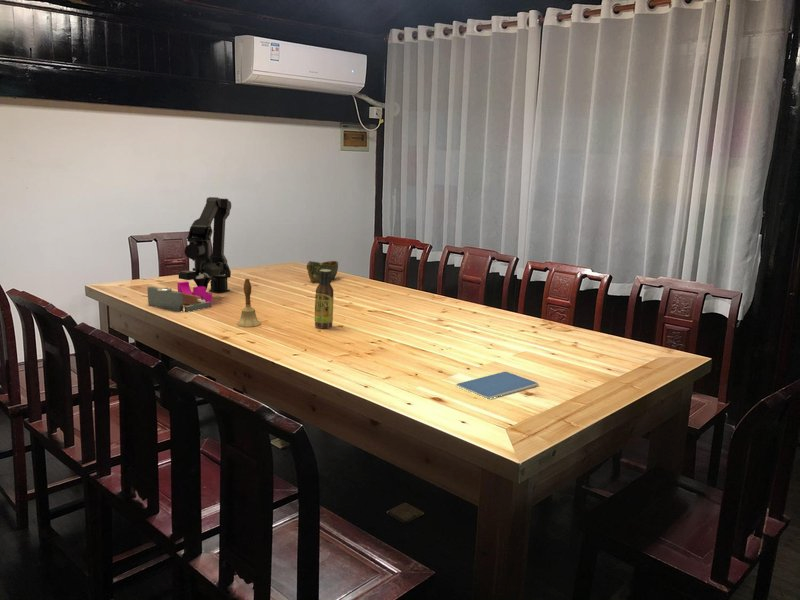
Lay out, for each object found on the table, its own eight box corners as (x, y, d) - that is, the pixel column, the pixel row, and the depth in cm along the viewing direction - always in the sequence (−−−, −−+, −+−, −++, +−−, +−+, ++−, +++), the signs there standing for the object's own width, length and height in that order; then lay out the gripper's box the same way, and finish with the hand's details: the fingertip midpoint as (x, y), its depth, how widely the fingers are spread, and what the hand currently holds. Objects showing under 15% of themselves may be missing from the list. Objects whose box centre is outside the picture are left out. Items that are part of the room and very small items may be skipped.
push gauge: (174, 298, 260) (173, 280, 259) (211, 307, 248) (210, 287, 247) (141, 305, 248) (140, 285, 247) (178, 313, 236) (177, 293, 235)
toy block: (212, 305, 253) (211, 286, 251) (197, 307, 248) (196, 288, 247) (192, 298, 263) (191, 280, 261) (178, 300, 258) (177, 282, 257)
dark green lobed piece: (296, 279, 309) (296, 258, 307) (334, 277, 320) (334, 256, 318) (308, 284, 299) (308, 262, 297) (346, 281, 310) (347, 260, 307)
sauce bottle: (311, 327, 223) (311, 270, 218) (320, 323, 228) (320, 267, 224) (327, 330, 220) (328, 272, 216) (336, 326, 226) (336, 269, 222)
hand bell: (236, 327, 220) (235, 281, 217) (236, 321, 228) (235, 277, 224) (261, 326, 222) (261, 280, 219) (260, 321, 230) (259, 276, 227)
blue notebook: (487, 402, 160) (488, 397, 159) (453, 387, 169) (453, 383, 169) (540, 387, 171) (540, 383, 171) (505, 374, 181) (505, 370, 181)
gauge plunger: (172, 299, 256) (171, 288, 256) (205, 306, 246) (205, 295, 245) (168, 299, 255) (168, 289, 254) (202, 307, 244) (202, 296, 243)
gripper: (195, 260, 243) (197, 301, 246) (234, 255, 258) (235, 293, 261) (176, 257, 249) (178, 297, 252) (215, 252, 264) (216, 290, 267)
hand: (203, 294), depth 258 cm, fingers closed
